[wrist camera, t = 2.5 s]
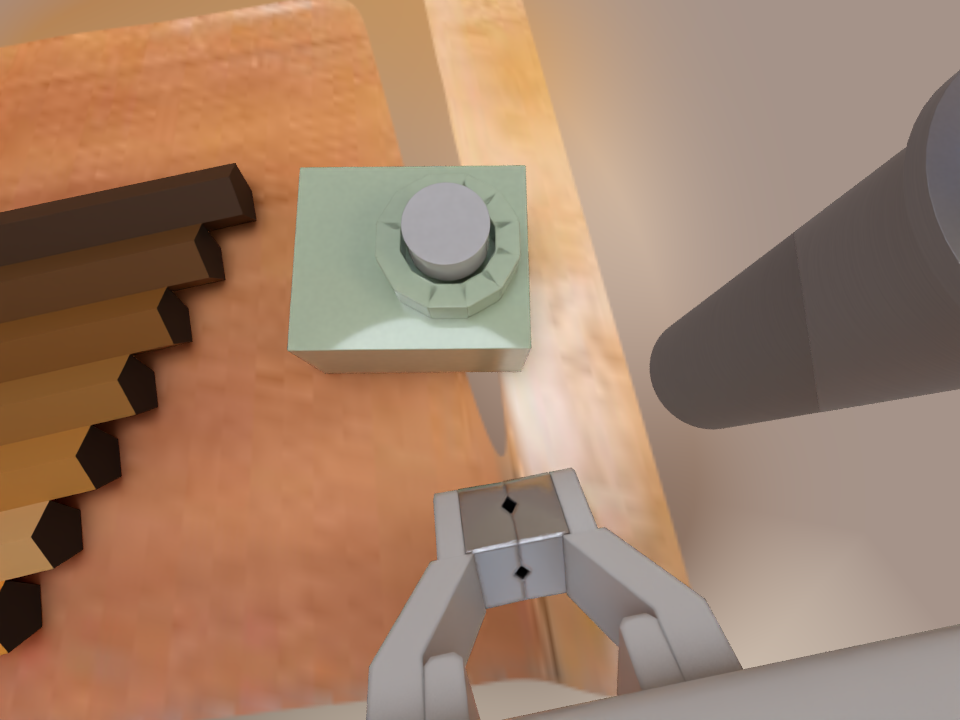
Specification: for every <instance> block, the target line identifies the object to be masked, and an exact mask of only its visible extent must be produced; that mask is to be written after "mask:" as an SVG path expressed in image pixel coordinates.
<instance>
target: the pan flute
mask: <svg viewBox="0 0 960 720" xmlns="http://www.w3.org/2000/svg"><path fill="white" fill-rule="evenodd" d="M252 221H256V216H255V210H254V203H253V197H252V191H251V189H250V187H249V186H248V184H247V182H246V180H245V179H244V177H243V175H242V174H241V172H240V170H239V169H238V167H237V165H236V163H232V164H228V165H223V166H218V167H214V168H209V169H204V170H199V171H195V172H190V173H185V174H180V175H176V176H171V177H166V178H162V179H157V180H152V181H147V182H143V183H138V184H133V185H128V186H124V187H119V188H114V189H110V190H105V191H100V192H95V193H91V194H86V195H81V196H76V197H72V198H67V199H62V200H57V201H53V202H48V203H43V204H39V205H34V206H29V207H24V208H20V209H15V210H10V211H5V212H1V213H0V655H3V654H7V653H9V652H11V651H12V650H13V649H14V648H16V647H17V646H18V645H19V644H21V643H22V642H23V641H25V640H26V639H27V638H28V637H30V636H31V635H32V634H33V633H35V632H36V631H37V630H38V629H40V628H41V627H42V617H41V599H40V585H35V584H28V583H21V582H13V581H6V580H9V579H13V578H17V577H21V576H26V575H30V574H34V573H38V572H42V571H46V570H50V569H54V568H55V567H57V566H58V565H60V564H61V563H63V562H65V561H66V560H68V559H69V558H71V557H72V556H74V555H75V554H77V553H78V552H80V551H81V550H83V545H82V531H81V518H80V510H78V509H75V508H72V507H69V506H65V505H62V504H59V503H56V502H53V501H50V500H53V499H57V498H62V497H66V496H70V495H74V494H78V493H83V492H87V491H91V490H95V489H98V488H100V487H102V486H104V485H105V484H107V483H109V482H111V481H113V480H115V479H117V478H119V477H121V467H120V456H119V445H118V439H117V438H115V437H113V436H111V435H109V434H107V433H105V432H103V431H101V430H99V429H98V428H96V427H94V426H92V425H93V424H97V423H102V422H106V421H110V420H115V419H119V418H123V417H128V416H132V415H136V414H139V413H142V412H145V411H148V410H151V409H154V408H157V407H158V404H157V395H156V386H155V377H154V372H153V371H152V370H151V369H149V368H148V367H147V366H145V365H144V364H143V363H141V362H140V361H139V360H137V359H136V358H135V357H133V356H132V355H136V354H140V353H145V352H149V351H153V350H158V349H162V348H167V347H171V346H176V345H180V344H184V343H189V342H192V335H191V327H190V319H189V311H188V308H187V307H186V306H185V305H184V304H183V303H182V302H181V301H180V300H179V299H178V298H177V296H176V295H175V294H174V293H173V292H172V291H176V290H180V289H185V288H189V287H194V286H198V285H203V284H207V283H212V282H216V281H221V280H225V275H224V268H223V261H222V254H221V248H220V247H219V245H218V244H217V243H216V241H215V240H214V239H213V237H212V236H211V235H210V233H209V232H208V231H210V230H215V229H220V228H224V227H229V226H233V225H238V224H243V223H247V222H252Z"/></svg>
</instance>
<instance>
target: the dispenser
mask: <svg viewBox="0 0 960 720" xmlns="http://www.w3.org/2000/svg"><path fill="white" fill-rule="evenodd" d="M444 182H449V183H456V184H460V185H463V186H465V187H468V188H469V189H471V190H473V191H474V192H475V193H476V194H478V195H479V197H480V198H481V199H482V200H483V201H484V203H485V205H486V207H487V209H488V212H489V216H490V245H489V251H488V254H487V257H486V259H485V261H484V262H483V264H482V265H481V266H480V267H479V268H478V269H477V270H476V271H475V272H474V273H472V274H471V275H469V276H467V277H465V278H462V279H459V280H454V281H442V280H437V279H433V278H431V277H429V276H427V275H425V274H423V273H422V272H421V271H420V270H419V269H418V268H417V267H416V266H415V265H414V264H413V262H412V260H411V258H410V256H409V253H408V250H407V247H406V244H405V241H404V238H403V235H402V231H401V218H402V213H403V211H404V208H405V206H406V204H407V203H408V201H409V200H410V199H411V198H412V197H413V196H414V194H416V193H417V192H418V191H420V190H421V189H423V188H425V187H427V186H429V185H432V184H436V183H444ZM530 349H531V325H530V292H529V259H528V226H527V193H526V166H525V165H512V166H415V167H414V166H413V167H308V168H300V175H299V189H298V204H297V218H296V232H295V247H294V261H293V275H292V290H291V304H290V318H289V333H288V347H287V350H288V351H289V352H291V353H292V354H294V355H296V356H297V357H299V358H300V359H302V360H304V361H305V362H307V363H309V364H310V365H312V366H314V367H315V368H317V369H318V370H320V371H322V372H323V373H421V372H521V371H522V369H523V366H524V364H525V361H526V359H527V357H528V354H529V352H530Z"/></svg>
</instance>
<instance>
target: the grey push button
mask: <svg viewBox="0 0 960 720" xmlns="http://www.w3.org/2000/svg"><path fill="white" fill-rule="evenodd" d="M401 231H402V235H403V238H404V241H405V244H406V247H407V250H408V253H409V256H410V258H411V260H412V262H413V264H414V265H415V266H416V267H417V268H418V269H419V270H420V271H421V272H422V273H423V274H425V275H427V276H429V277H431V278H433V279H437V280H442V281H454V280H459V279H462V278H465V277H467V276H469V275H471V274H472V273H474V272H475V271H476V270H477V269H478V268H479V267H480V266H481V265H482V264H483V262H484V261H485V259H486V257H487V254H488V251H489V245H490V216H489V212H488V209H487V207H486V205H485V203H484V201H483V200H482V199H481V198H480V197H479V195H478V194H476V193H475V192H474V191H473V190H471V189H469V188H468V187H465V186H463V185H460V184H456V183H449V182H444V183H436V184H432V185H429V186H427V187H425V188H423V189H421V190H420V191H418V192H417V193H416V194H414V196H413V197H412V198H411V199H410V200H409V201H408V203H407V204H406V206H405V208H404V211H403V213H402V218H401Z"/></svg>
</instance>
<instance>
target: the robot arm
mask: <svg viewBox="0 0 960 720" xmlns="http://www.w3.org/2000/svg"><path fill="white" fill-rule="evenodd" d="M433 503H434V517H435V532H436V546H437V560H435V561H431V562H430V563H429V565H428V567H427V568H426V570H425V572H424V573H423V575H422V577H421V579H420V580H419V582H418V584H417V585H416V587H415V589H414V591H413V592H412V594H411V596H410V597H409V599H408V601H407V603H406V604H405V606H404V608H403V609H402V611H401V613H400V615H399V616H398V618H397V620H396V621H395V623H394V625H393V627H392V628H391V630H390V632H389V633H388V635H387V637H386V639H385V640H384V642H383V644H382V645H381V647H380V649H379V651H378V652H377V654H376V656H375V657H374V659H373V661H372V663H371V664H370V666H369V678H368V696H367V714H366V720H480V717H479V714H478V710H477V707H476V703H475V700H474V696H473V693H472V689H471V686H470V682H469V679H468V675H467V672H466V668H465V666H466V664H467V661H468V658H469V656H470V653H471V650H472V648H473V645H474V643H475V640H476V637H477V635H478V632H479V629H480V627H481V624H482V621H483V619H484V616H485V614H486V609H488V608H492V607H497V606H501V605H505V604H510V603H514V602H518V601H523V600H527V599H533V598H539V597H545V596H551V595H556V594H562V593H567V595H568V596H569V597H570V598H571V599H572V600H573V601H574V602H575V603H576V604H577V605H578V607H579V608H580V609H581V610H582V611H583V612H584V613H585V614H586V615H587V616H588V617H589V618H590V619H591V620H592V621H593V622H594V623H595V624H596V625H597V626H598V627H599V628H600V629H601V630H602V631H603V632H604V633H605V634H606V635H607V636H608V637H609V638H610V639H611V640H612V641H613V642H614V643H615V644H616V645H617V646H618V647H619V650H618V676H617V695H618V696H614V697H609V698H604V699H600V700H595V701H590V702H585V703H580V704H576V705H571V706H566V707H561V708H557V709H552V710H547V711H542V712H537V713H533V714H528V715H523V716H518V717H514V718H509V719H504V720H960V624H958V625H954V626H949V627H944V628H939V629H934V630H929V631H925V632H920V633H915V634H910V635H906V636H901V637H896V638H892V639H887V640H882V641H877V642H873V643H868V644H863V645H858V646H853V647H849V648H844V649H839V650H835V651H829V652H825V653H820V654H815V655H811V656H806V657H801V658H796V659H791V660H787V661H782V662H777V663H772V664H767V665H763V666H758V667H753V668H748V669H743V668H742V666H741V664H740V663H739V661H738V659H737V657H736V655H735V653H734V651H733V649H732V648H731V646H730V644H729V642H728V640H727V638H726V636H725V635H724V633H723V631H722V629H721V627H720V625H719V623H718V622H717V620H716V618H715V616H714V614H713V612H712V610H711V609H710V607H709V605H708V603H707V601H706V600H705V598H703V597H702V596H700V595H699V594H698V593H696V592H695V591H693V590H692V589H691V588H689V587H688V586H686V585H685V584H684V583H682V582H681V581H679V580H678V579H677V578H675V577H674V576H672V575H671V574H670V573H668V572H667V571H665V570H664V569H663V568H661V567H660V566H658V565H657V564H656V563H654V562H653V561H651V560H650V559H649V558H647V557H646V556H644V555H643V554H642V553H640V552H639V551H637V550H636V549H635V548H633V547H632V546H630V545H629V544H628V543H626V542H625V541H624V540H622V539H621V538H619V537H618V536H617V535H615V534H614V533H612V532H611V531H610V530H608V529H607V528H605V527H604V528H598V527H597V525H596V522H595V520H594V517H593V515H592V512H591V510H590V507H589V505H588V502H587V500H586V497H585V495H584V492H583V490H582V487H581V485H580V482H579V480H578V477H577V475H576V473H575V470H573V469H572V468H567V469H562V470H557V471H552V472H549V473H548V472H546V473H542V474H537V475H532V476H527V477H522V478H517V479H512V480H507V481H503V482H499V483H493V484H487V485H481V486H475V487H469V488H463V489H458V490H454V491H448V492H442V493H436V494H434V499H433Z"/></svg>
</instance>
